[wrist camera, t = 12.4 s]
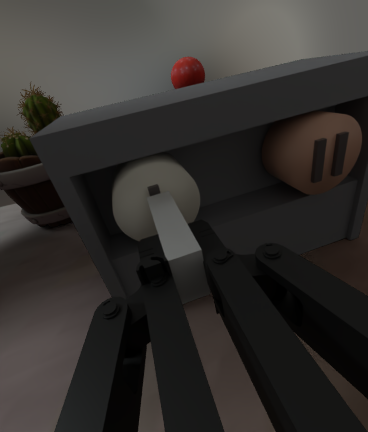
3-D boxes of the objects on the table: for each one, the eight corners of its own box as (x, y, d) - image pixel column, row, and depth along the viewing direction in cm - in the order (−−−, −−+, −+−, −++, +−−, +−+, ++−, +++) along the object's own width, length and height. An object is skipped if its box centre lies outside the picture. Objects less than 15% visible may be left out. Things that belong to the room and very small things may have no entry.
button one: (125, 226, 21) (99, 160, 18) (190, 206, 22) (176, 139, 19) (129, 256, 17) (97, 180, 14) (207, 231, 18) (193, 153, 15)
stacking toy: (178, 188, 42) (151, 64, 32) (182, 170, 49) (161, 63, 39) (223, 182, 41) (209, 50, 31) (221, 165, 47) (209, 52, 38)
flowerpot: (28, 251, 34) (-80, 96, 23) (19, 216, 45) (-57, 100, 35) (120, 207, 40) (68, 69, 30) (92, 185, 51) (47, 80, 41)
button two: (262, 185, 22) (260, 118, 19) (317, 168, 23) (325, 101, 20) (292, 205, 19) (297, 126, 16) (357, 184, 19) (374, 105, 16)
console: (120, 253, 29) (60, 116, 21) (293, 197, 33) (301, 59, 24) (125, 322, 21) (29, 138, 12) (358, 237, 24) (405, 46, 16)
